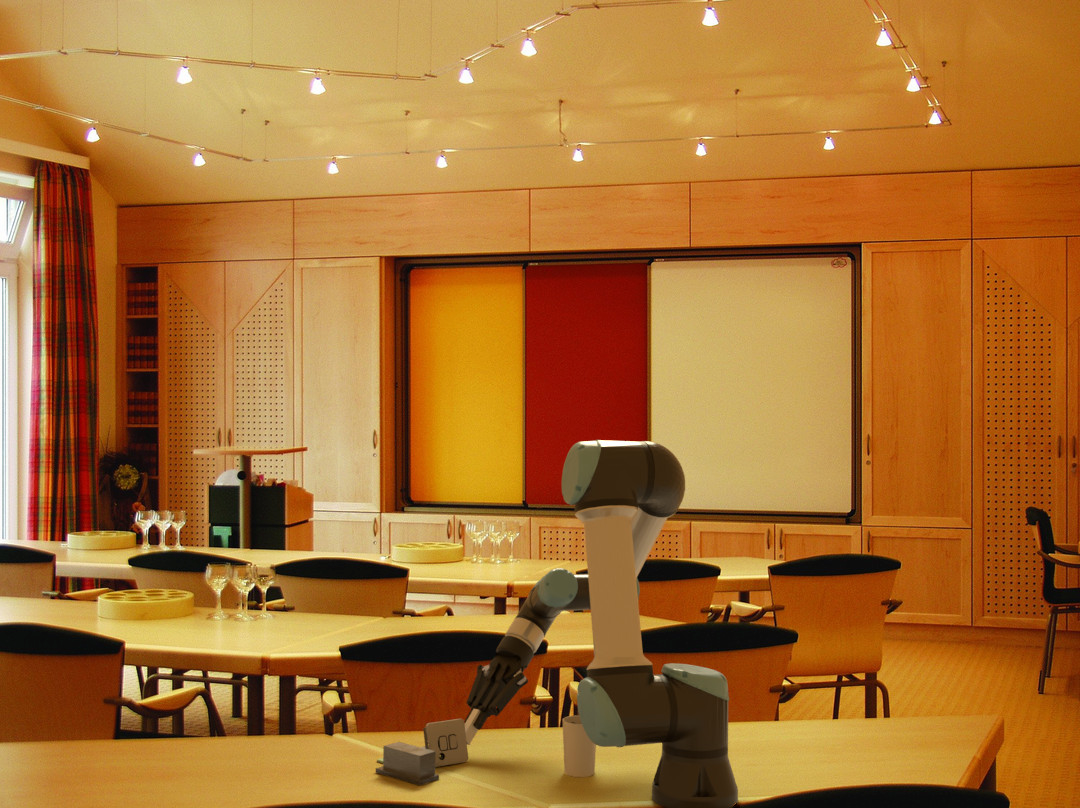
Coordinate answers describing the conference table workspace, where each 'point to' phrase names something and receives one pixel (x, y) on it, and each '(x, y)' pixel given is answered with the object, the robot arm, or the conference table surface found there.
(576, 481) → the robot arm
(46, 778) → the conference table surface
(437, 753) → the electrical switch
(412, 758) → the block
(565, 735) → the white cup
